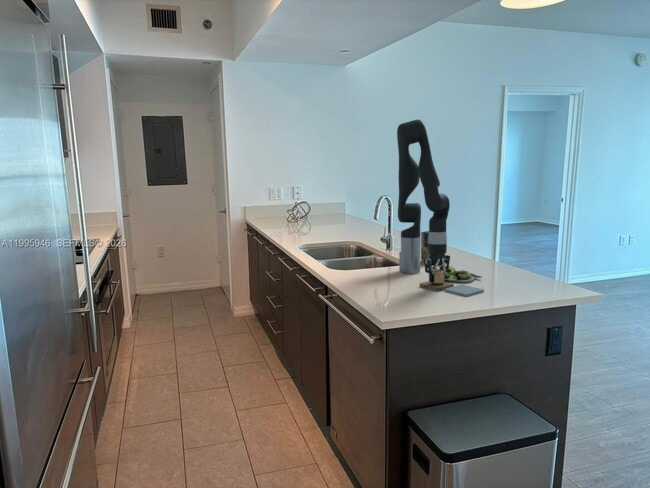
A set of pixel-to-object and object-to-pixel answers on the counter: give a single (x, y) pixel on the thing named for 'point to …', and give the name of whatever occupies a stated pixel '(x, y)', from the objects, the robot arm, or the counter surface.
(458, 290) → the tile
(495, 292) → the counter surface
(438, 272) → the cap
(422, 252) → the coffee box
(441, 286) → the post stand
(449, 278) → the salad plate
